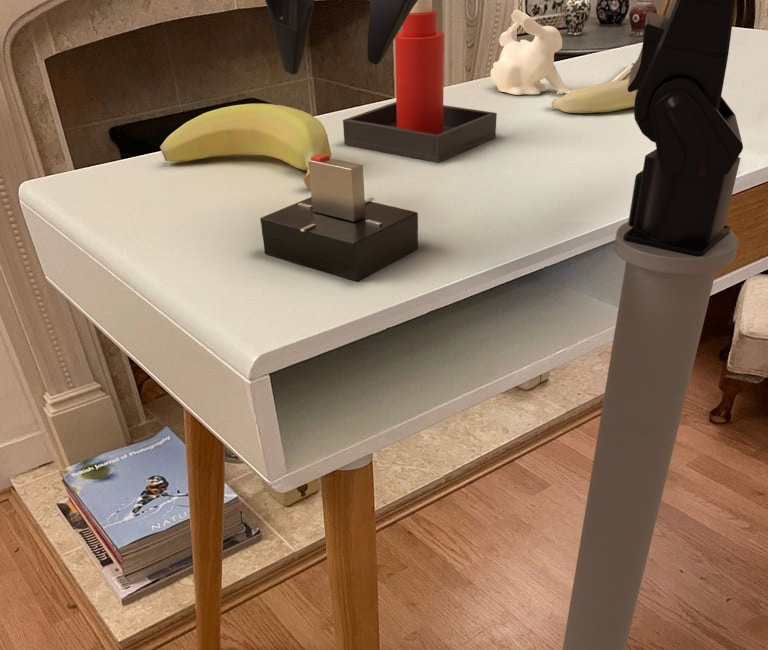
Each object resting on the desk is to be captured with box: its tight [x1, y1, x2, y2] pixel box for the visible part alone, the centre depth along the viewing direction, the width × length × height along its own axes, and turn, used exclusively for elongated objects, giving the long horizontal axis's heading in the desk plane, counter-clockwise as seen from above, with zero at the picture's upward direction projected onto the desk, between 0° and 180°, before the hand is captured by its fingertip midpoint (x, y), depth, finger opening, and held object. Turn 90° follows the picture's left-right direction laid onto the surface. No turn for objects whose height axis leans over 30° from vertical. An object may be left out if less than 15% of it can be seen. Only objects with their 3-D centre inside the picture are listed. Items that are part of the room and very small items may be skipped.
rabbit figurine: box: [490, 9, 574, 96], centre depth 104 cm, size 12×8×10 cm, turn 46°
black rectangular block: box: [259, 196, 419, 282], centre depth 65 cm, size 10×9×3 cm
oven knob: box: [308, 153, 366, 222], centre depth 63 cm, size 4×1×4 cm, turn 52°
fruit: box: [550, 78, 636, 114], centre depth 99 cm, size 7×15×3 cm, turn 117°
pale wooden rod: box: [610, 62, 635, 82], centre depth 110 cm, size 1×19×1 cm, turn 153°
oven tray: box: [342, 101, 498, 163], centre depth 90 cm, size 13×11×3 cm
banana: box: [159, 103, 332, 190], centre depth 83 cm, size 14×6×20 cm
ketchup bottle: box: [394, 0, 445, 135], centre depth 86 cm, size 5×5×14 cm
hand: (333, 68), depth 63 cm, fingers open, 9 cm apart
